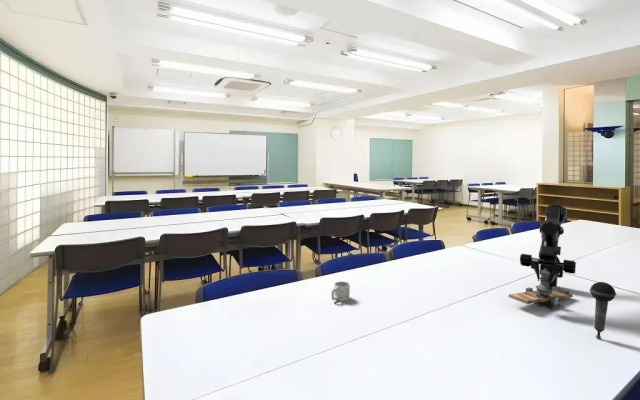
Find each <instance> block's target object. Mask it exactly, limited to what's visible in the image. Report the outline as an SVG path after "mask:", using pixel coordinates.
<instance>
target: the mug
mask: <svg viewBox="0 0 640 400" xmlns="http://www.w3.org/2000/svg"><path fill="white" fill-rule="evenodd" d="M350 293H351V291H350V283H349V282H347V281H341V280H340V281H337V282H334V288H333V289H332V290H331V295H330V296H331V300H332V301H337V302H348V301H349V300H350Z"/></svg>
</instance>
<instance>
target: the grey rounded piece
mask: <svg viewBox="0 0 640 400" xmlns="http://www.w3.org/2000/svg"><path fill="white" fill-rule="evenodd" d="M549 278H550V272H549V271H548V270H546V268H545V269H544V270H542V271H541V275H540V280H539V282H540V283H539V284H538V285H536V286H535V288H536V291H537V292H538V293H539V294H537V295H536V296H537V297H539V298H542V299H552V297H551V296H550V294H551V293H552V291H553V288H551V287H550V286H549V282H550V279H549Z"/></svg>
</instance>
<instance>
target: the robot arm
mask: <svg viewBox="0 0 640 400" xmlns="http://www.w3.org/2000/svg"><path fill="white" fill-rule="evenodd" d="M567 212H568V211H567V208H566V207H564V206H563V205H562V204H555V203H551V204H549V205H547V206H545V210H544V216H545V217H546V219H545V220H543V222H542V224H540V227H539V233H540V234H541V243H540V247H539V251H538V257H533V256H532V254H528V253H527V254H526V253H521V254H520V256H519V262H520V266H522V267H523V266H524V267H530V268H531V269H532V270H534V272H535V275H536V279H537V281H538V282H540V280H541V279H540V278H541V271H542V270H544V269H545V268H546V270H548V271H549V272H550V278H549V279H550V282H549V286H550V287H551V288H552V287H555V286H556V287H559V288H561V287H560V286H559V285H558V278H559V279H562V278H564V273H567V274H573V275H574V274H576V266H577V262H576V261H575V260H570V259H563V262H561V260H560V258H559V257H558V256H561V252H562V251H561V250H562V247H561V246H559V239H560V236H561V235H563V234H564V232H565V229H564V228H563V226H561V225H563V224H564V222H565V219H566V218H567Z"/></svg>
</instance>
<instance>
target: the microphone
mask: <svg viewBox="0 0 640 400" xmlns="http://www.w3.org/2000/svg"><path fill="white" fill-rule="evenodd" d="M589 291H590V294H591V296H592V298H593V299H595V308H594V309H595V310H594V311H595V312H594V327H593V328H594V330H595V331H596V332H597V334H596V336H595V338H597V340H601V338H602V337H601V333H603V332H605V326H606V320H607V314H608V313H607V312H608V306H609V302H611V301H613V300H614V299H615V297H616V296H617V292H616V289H615V288H614V286H613V285H611V284H609V283H608V282H604V281H597V282H594V283H593V284H592V285H591V287H590V289H589Z"/></svg>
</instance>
